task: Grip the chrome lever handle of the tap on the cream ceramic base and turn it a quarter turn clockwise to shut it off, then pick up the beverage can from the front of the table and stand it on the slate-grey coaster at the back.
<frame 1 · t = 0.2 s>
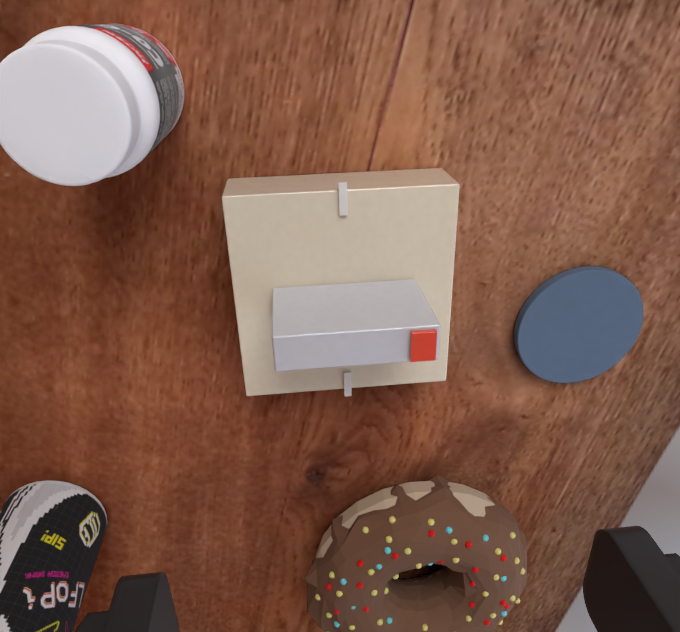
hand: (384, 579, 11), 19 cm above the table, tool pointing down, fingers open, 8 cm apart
beverage can: (61, 505, 34), on the table
pill bottle: (128, 86, 24), on the table
donut: (406, 542, 39), on the table
coaster: (575, 324, 32), on the table
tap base: (338, 272, 29), on the table
tap handle: (351, 323, 24), point 5 cm above the table, hinge at 90.0°
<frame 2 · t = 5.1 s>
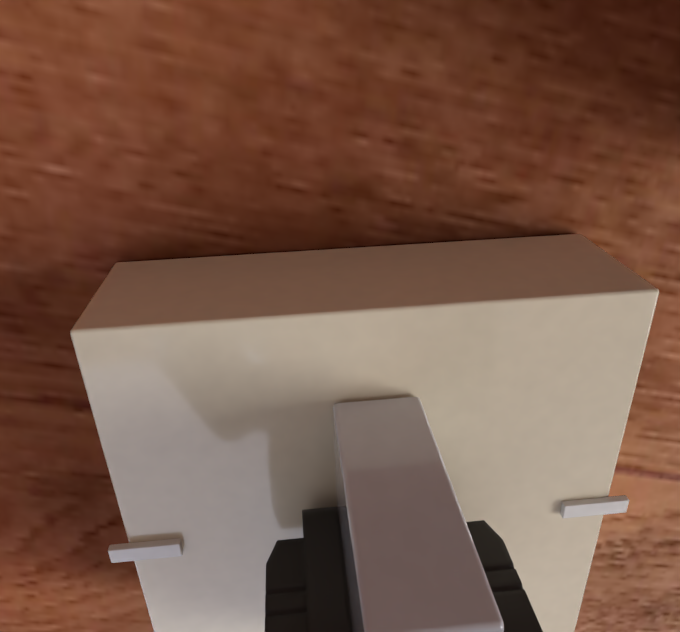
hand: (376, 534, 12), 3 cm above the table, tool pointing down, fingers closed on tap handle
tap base: (358, 432, 15), on the table
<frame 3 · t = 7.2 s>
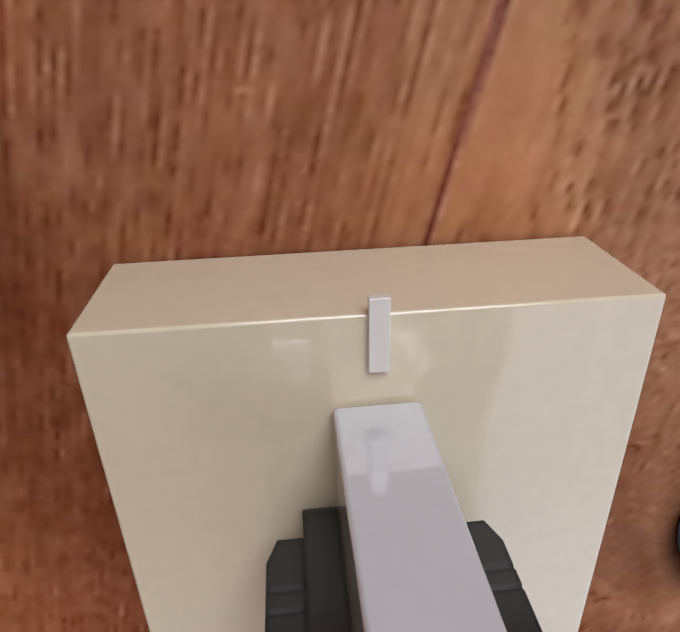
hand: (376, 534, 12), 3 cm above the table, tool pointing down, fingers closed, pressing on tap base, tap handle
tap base: (358, 436, 14), on the table
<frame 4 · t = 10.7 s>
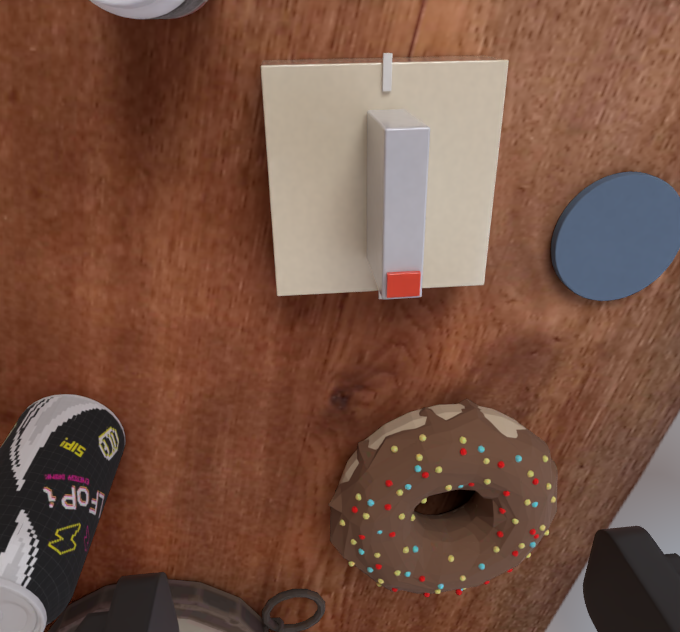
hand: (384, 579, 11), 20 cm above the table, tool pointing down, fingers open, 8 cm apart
beverage can: (77, 425, 33), on the table
donut: (430, 475, 38), on the table
coaster: (614, 237, 31), on the table
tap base: (374, 171, 28), on the table
tap handle: (394, 203, 23), point 5 cm above the table, hinge at 0.3°
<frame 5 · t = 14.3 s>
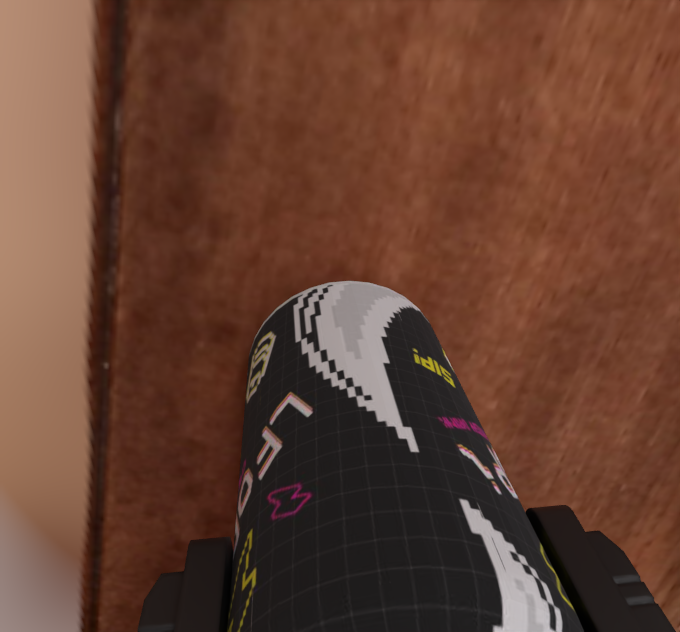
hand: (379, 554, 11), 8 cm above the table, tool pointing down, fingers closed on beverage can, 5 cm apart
beverage can: (341, 351, 18), on the table, touching gripper
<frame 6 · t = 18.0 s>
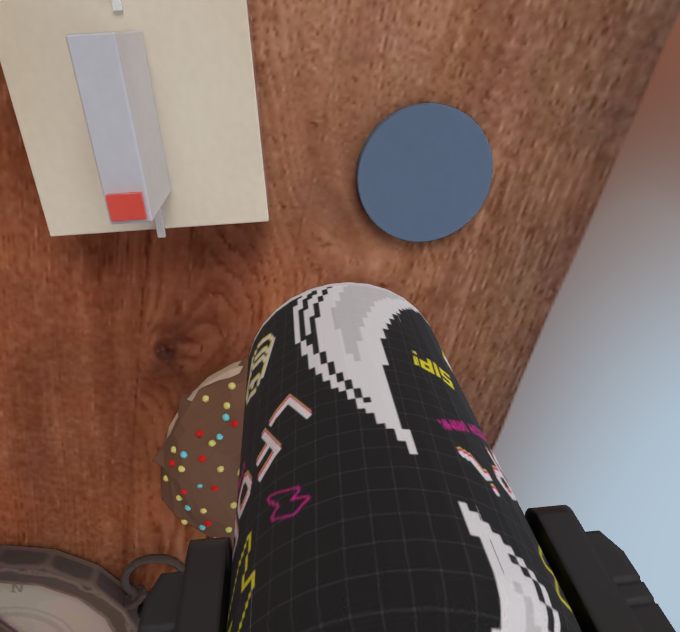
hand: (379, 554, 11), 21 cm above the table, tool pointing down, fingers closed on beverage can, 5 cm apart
beverage can: (340, 352, 18), point 14 cm above the table, touching gripper
donut: (277, 433, 37), on the table
compass: (50, 620, 42), on the table, touching scissors
coaster: (423, 174, 30), on the table
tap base: (152, 106, 27), on the table
tap handle: (125, 125, 22), point 5 cm above the table, hinge at 0.3°
when the fingers open (8 cm above the table, at t = 22.1 s): beverage can stays where it is, resting on coaster.
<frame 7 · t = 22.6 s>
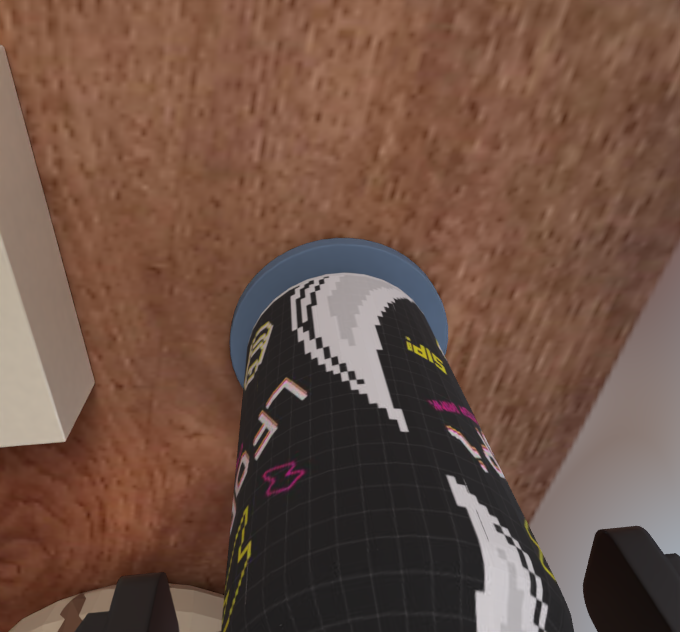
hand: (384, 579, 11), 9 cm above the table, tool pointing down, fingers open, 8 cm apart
beverage can: (337, 342, 18), resting on coaster
coaster: (339, 338, 19), on the table
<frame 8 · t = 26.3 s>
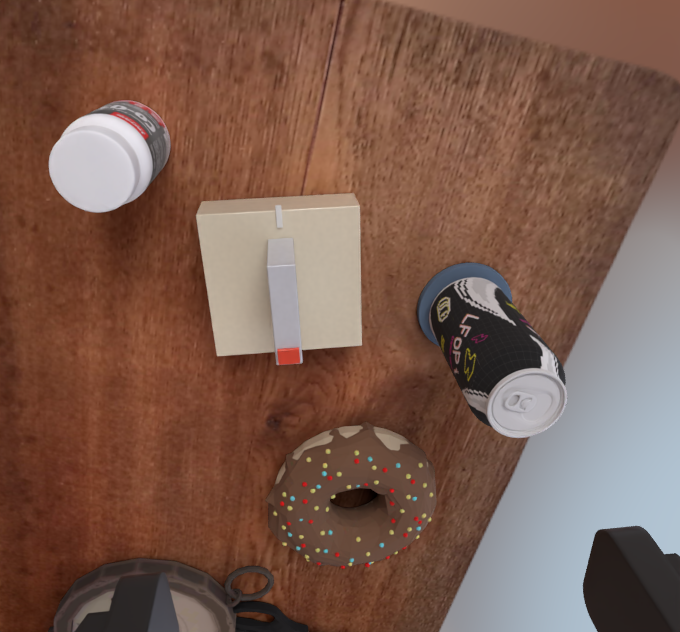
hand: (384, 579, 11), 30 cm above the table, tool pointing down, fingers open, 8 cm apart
beverage can: (464, 307, 42), resting on coaster
pill bottle: (132, 139, 35), on the table
donut: (347, 478, 50), on the table
scissors: (313, 631, 58), on the table, touching compass
compass: (164, 615, 55), on the table, touching scissors
coaster: (463, 306, 43), on the table
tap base: (284, 267, 40), on the table
tap handle: (285, 301, 35), point 5 cm above the table, hinge at 0.3°
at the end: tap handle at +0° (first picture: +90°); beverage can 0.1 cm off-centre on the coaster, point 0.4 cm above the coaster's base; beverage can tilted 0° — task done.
